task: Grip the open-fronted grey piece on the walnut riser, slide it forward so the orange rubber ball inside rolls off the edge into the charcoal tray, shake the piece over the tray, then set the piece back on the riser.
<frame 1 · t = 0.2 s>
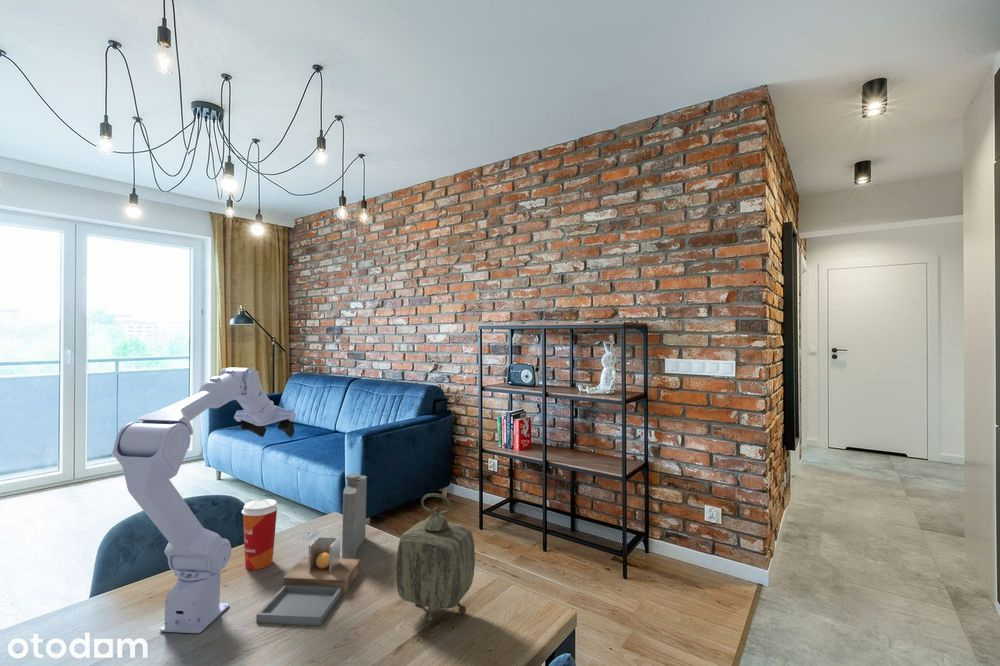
hand: (277, 433, 124), 31 cm above the table, tool tilted 45°, fingers open, 7 cm apart
grey piece: (324, 567, 111), point 3 cm above the table, touching riser
riser: (323, 581, 110), on the table
tray: (301, 607, 99), on the table
ball: (323, 560, 110), point 5 cm above the table, touching riser
coffee cup: (258, 565, 117), on the table
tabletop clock: (433, 616, 97), on the table
hip flask: (352, 550, 127), on the table
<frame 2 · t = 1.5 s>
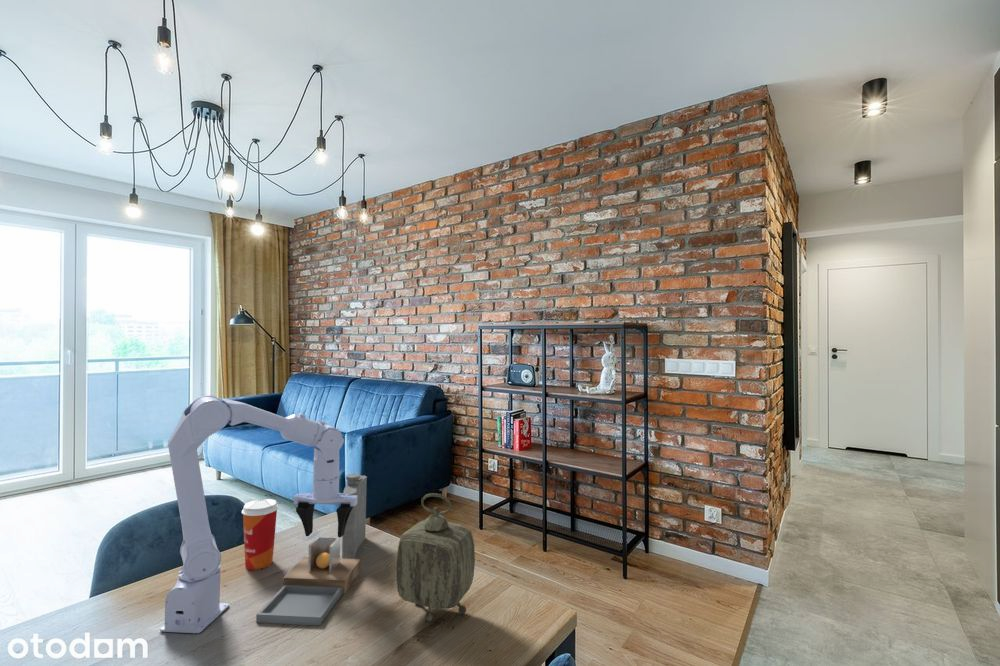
hand: (324, 535, 111), 10 cm above the table, tool pointing down, fingers open, 7 cm apart
nothing on the table moved.
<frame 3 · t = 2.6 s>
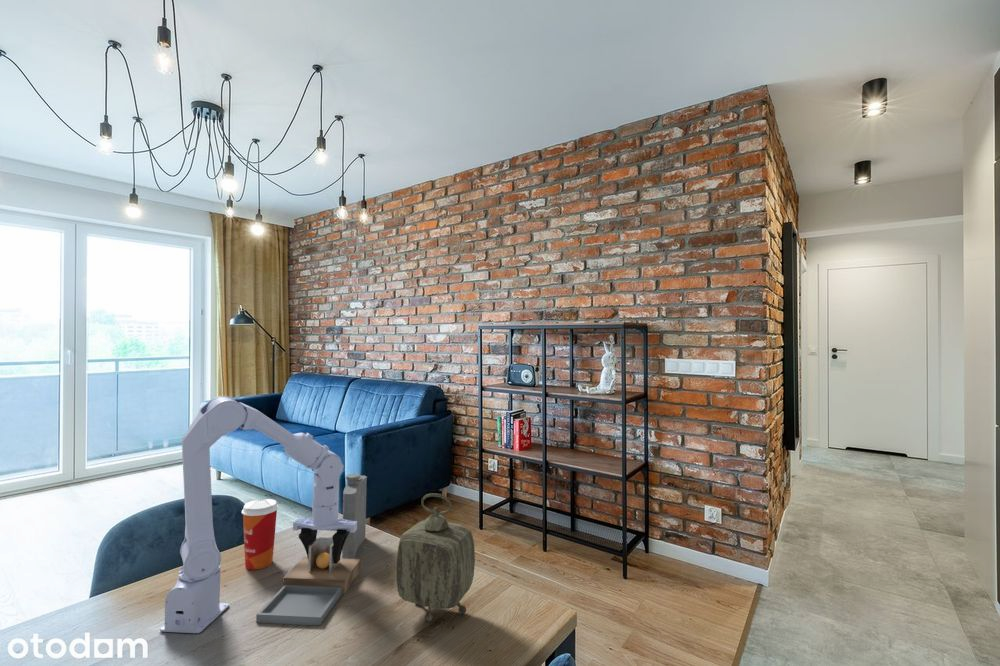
hand: (324, 561, 111), 4 cm above the table, tool pointing down, fingers closed on grey piece, 5 cm apart
grey piece: (324, 567, 111), point 3 cm above the table, touching gripper, riser
everything else where it was.
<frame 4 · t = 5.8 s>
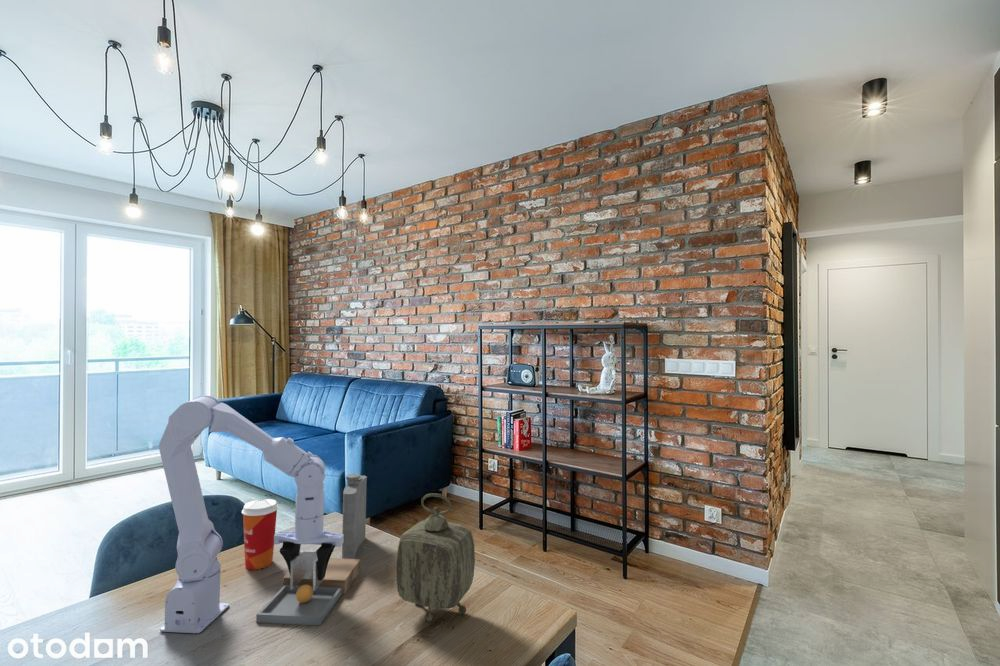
hand: (308, 577, 102), 5 cm above the table, tool pointing down, fingers closed on grey piece, 5 cm apart
grey piece: (308, 583, 102), point 4 cm above the table, touching gripper
ball: (304, 593, 101), point 2 cm above the table, tilted 8°, touching tray
everything else where it was.
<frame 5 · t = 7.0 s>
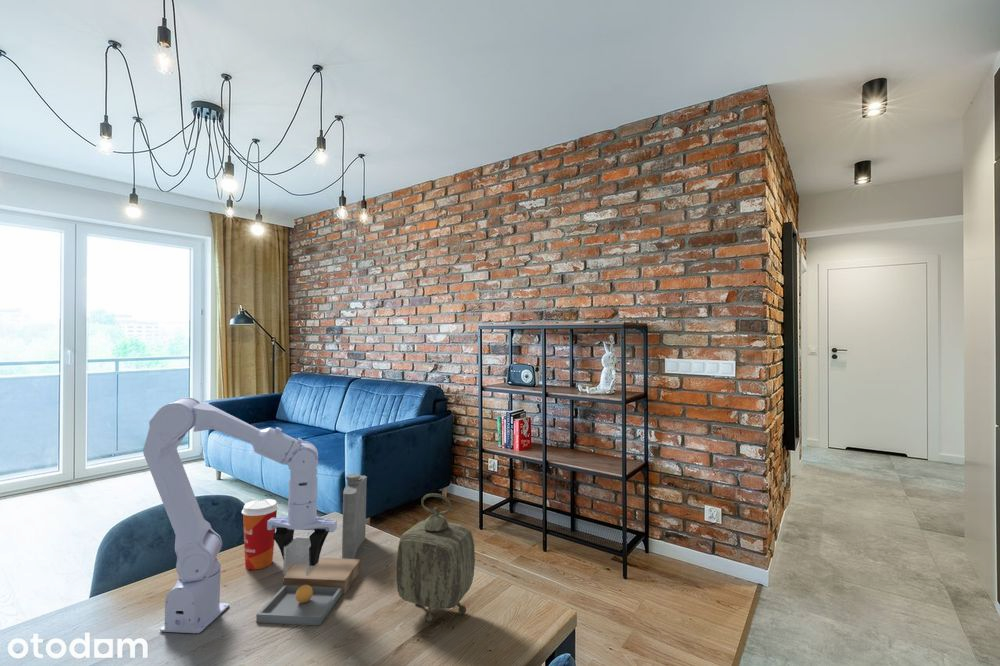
hand: (301, 563, 102), 8 cm above the table, tool pointing down, fingers closed on grey piece, 5 cm apart
grey piece: (301, 569, 102), point 6 cm above the table, touching gripper
everything else where it was.
when the fingers open (6 cm above the table, at t = 9.2 s): grey piece drops 1 cm, resting on riser.
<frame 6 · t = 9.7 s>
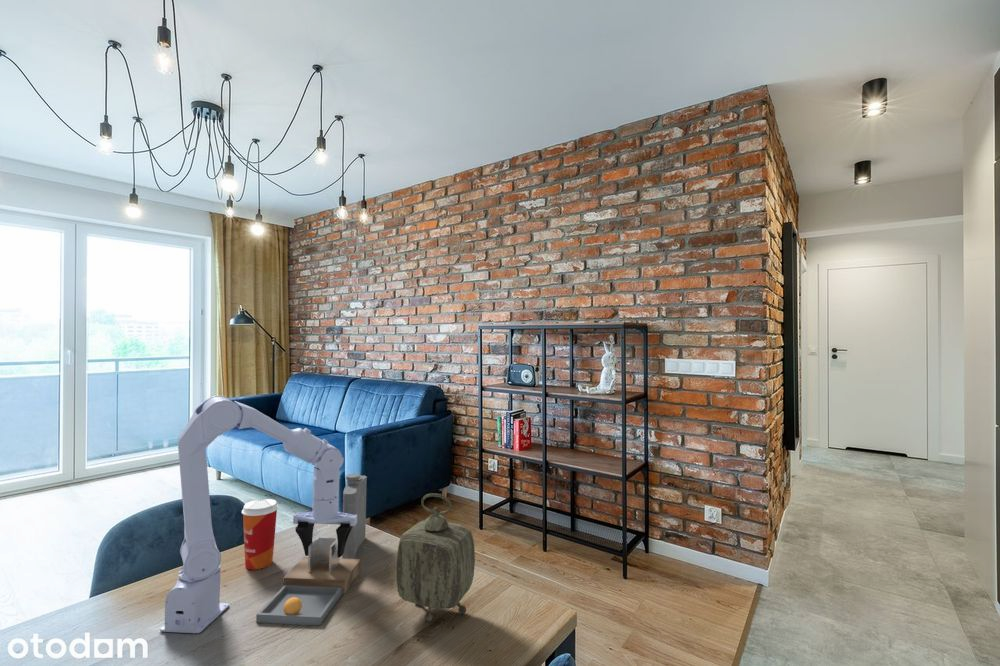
hand: (324, 554, 111), 6 cm above the table, tool pointing down, fingers open, 7 cm apart
grey piece: (324, 567, 110), point 3 cm above the table, touching riser
ball: (292, 606, 96), point 2 cm above the table, tilted 159°, touching tray
everything else where it was.
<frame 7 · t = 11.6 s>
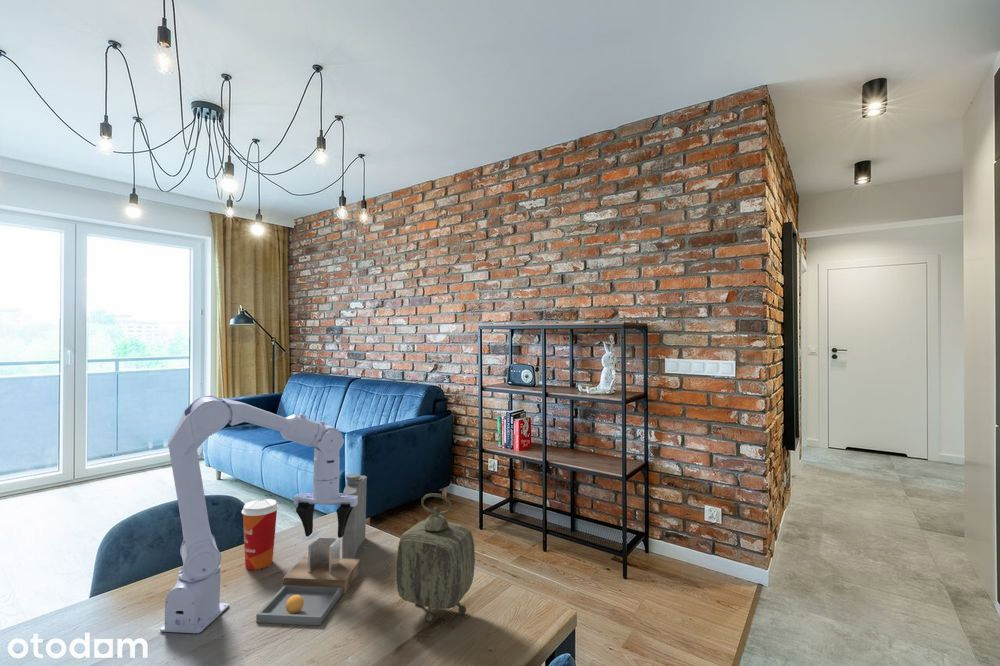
hand: (325, 535, 111), 10 cm above the table, tool pointing down, fingers open, 7 cm apart
ball: (294, 604, 97), point 2 cm above the table, tilted 129°, touching tray
everything else where it was.
at the end: ball inside the target area on the tray (2.5 cm from its centre), point 2.1 cm above the tray's base; the gripper is holding nothing; grey piece tilted 0° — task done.
